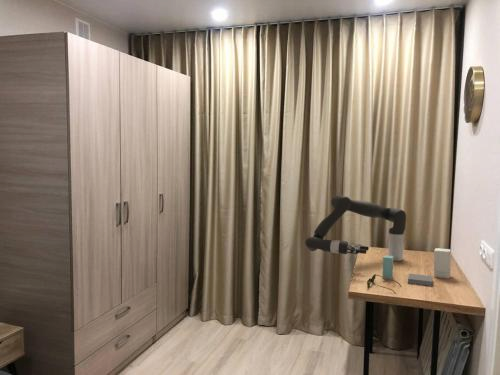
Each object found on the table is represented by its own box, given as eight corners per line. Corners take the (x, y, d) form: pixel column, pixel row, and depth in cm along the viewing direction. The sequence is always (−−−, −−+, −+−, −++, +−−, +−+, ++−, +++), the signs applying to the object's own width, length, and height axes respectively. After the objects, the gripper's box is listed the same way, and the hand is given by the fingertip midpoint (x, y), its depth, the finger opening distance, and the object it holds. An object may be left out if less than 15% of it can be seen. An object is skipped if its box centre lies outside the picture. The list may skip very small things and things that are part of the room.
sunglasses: (374, 282, 223) (375, 273, 222) (402, 289, 214) (403, 280, 214) (366, 289, 211) (367, 280, 210) (395, 297, 203) (396, 287, 202)
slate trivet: (408, 277, 228) (409, 273, 228) (432, 280, 223) (432, 276, 223) (407, 283, 219) (408, 278, 219) (432, 286, 214) (432, 281, 214)
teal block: (383, 275, 232) (384, 255, 231) (392, 276, 230) (393, 256, 229) (382, 278, 228) (383, 257, 226) (391, 279, 226) (392, 258, 224)
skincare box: (450, 276, 231) (451, 249, 229) (449, 279, 225) (450, 251, 224) (434, 273, 235) (435, 247, 234) (433, 277, 229) (434, 250, 228)
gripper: (336, 243, 233) (365, 246, 226) (341, 238, 246) (369, 241, 239) (336, 256, 233) (365, 259, 227) (341, 250, 246) (369, 253, 240)
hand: (367, 250), depth 233 cm, fingers open, 8 cm apart
